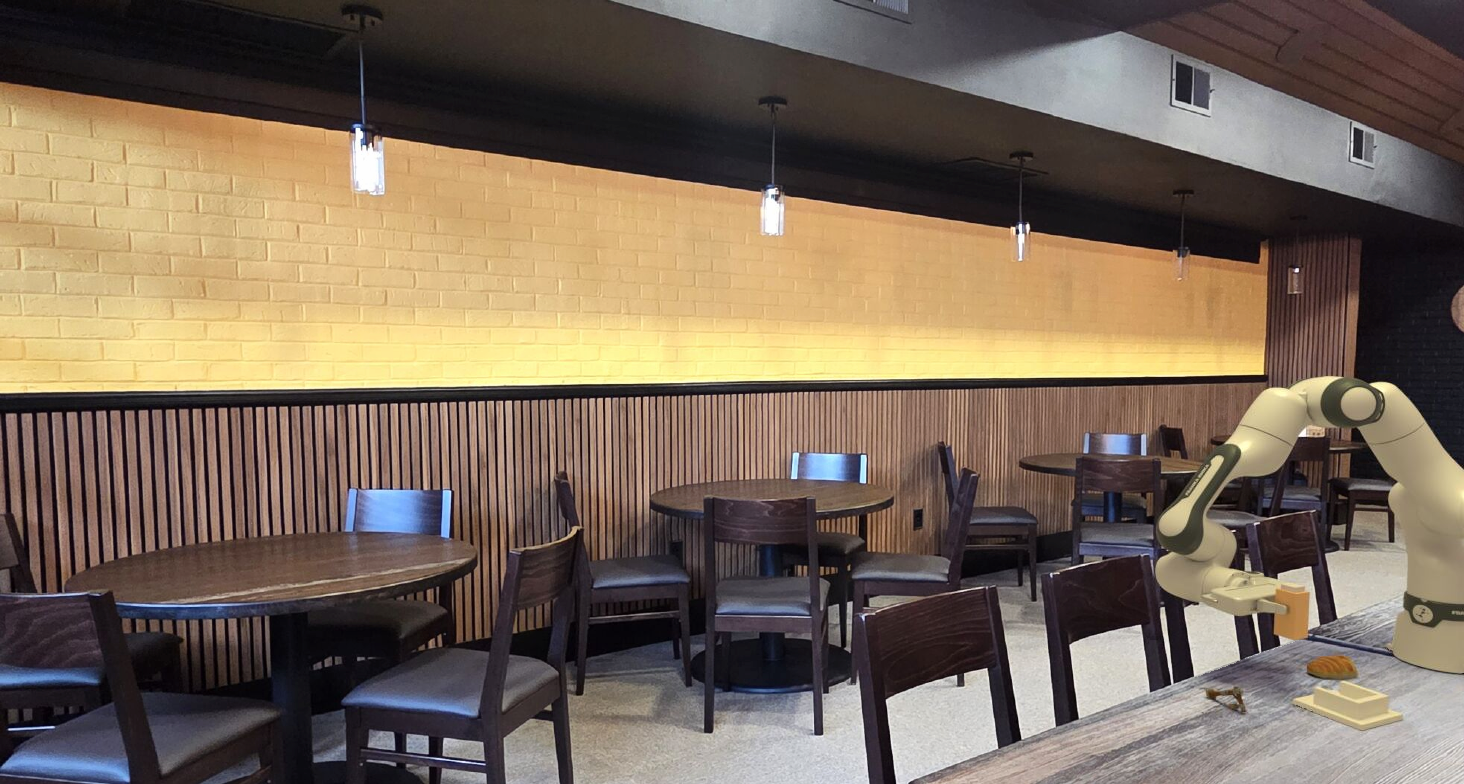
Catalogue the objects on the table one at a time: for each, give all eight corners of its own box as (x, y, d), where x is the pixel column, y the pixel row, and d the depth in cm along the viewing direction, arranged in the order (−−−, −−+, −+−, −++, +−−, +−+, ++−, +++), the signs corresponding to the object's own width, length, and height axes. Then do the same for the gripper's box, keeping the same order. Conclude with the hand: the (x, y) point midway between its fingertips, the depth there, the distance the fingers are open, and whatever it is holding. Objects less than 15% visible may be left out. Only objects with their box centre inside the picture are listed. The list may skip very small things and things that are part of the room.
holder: (1333, 694, 166) (1334, 674, 166) (1402, 719, 155) (1403, 697, 155) (1292, 704, 161) (1293, 683, 161) (1361, 730, 150) (1362, 708, 150)
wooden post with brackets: (1244, 712, 155) (1237, 686, 156) (1211, 713, 162) (1204, 688, 164) (1252, 711, 155) (1245, 685, 157) (1219, 712, 162) (1212, 687, 164)
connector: (1287, 631, 170) (1289, 581, 169) (1307, 637, 166) (1309, 586, 166) (1273, 633, 168) (1275, 583, 168) (1294, 640, 165) (1296, 588, 164)
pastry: (1327, 683, 172) (1328, 664, 172) (1295, 671, 178) (1296, 653, 178) (1361, 678, 175) (1362, 660, 175) (1328, 667, 181) (1329, 649, 181)
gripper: (1195, 580, 174) (1261, 598, 162) (1262, 570, 183) (1329, 587, 170) (1194, 611, 175) (1260, 631, 162) (1261, 599, 183) (1328, 618, 171)
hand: (1296, 608), depth 166 cm, fingers closed on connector, 4 cm apart
